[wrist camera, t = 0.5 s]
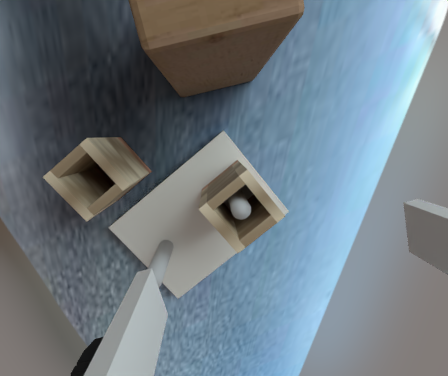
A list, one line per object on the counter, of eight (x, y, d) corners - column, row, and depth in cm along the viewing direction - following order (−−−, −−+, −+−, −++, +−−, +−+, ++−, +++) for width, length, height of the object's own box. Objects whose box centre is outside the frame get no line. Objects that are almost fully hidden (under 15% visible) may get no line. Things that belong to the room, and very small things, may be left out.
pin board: (113, 223, 38) (75, 257, 27) (223, 130, 36) (227, 129, 26) (179, 291, 41) (168, 347, 30) (285, 207, 39) (313, 235, 28)
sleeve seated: (202, 188, 36) (198, 209, 26) (237, 159, 35) (247, 169, 25) (230, 222, 37) (237, 253, 27) (265, 194, 36) (285, 216, 26)
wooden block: (254, 80, 35) (308, 12, 16) (180, 98, 35) (141, 53, 16) (237, -3, 33) (275, -200, 14) (159, 16, 33) (84, -154, 14)
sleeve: (88, 165, 36) (42, 177, 27) (121, 137, 36) (86, 137, 26) (119, 199, 37) (86, 221, 28) (151, 171, 37) (130, 184, 27)
